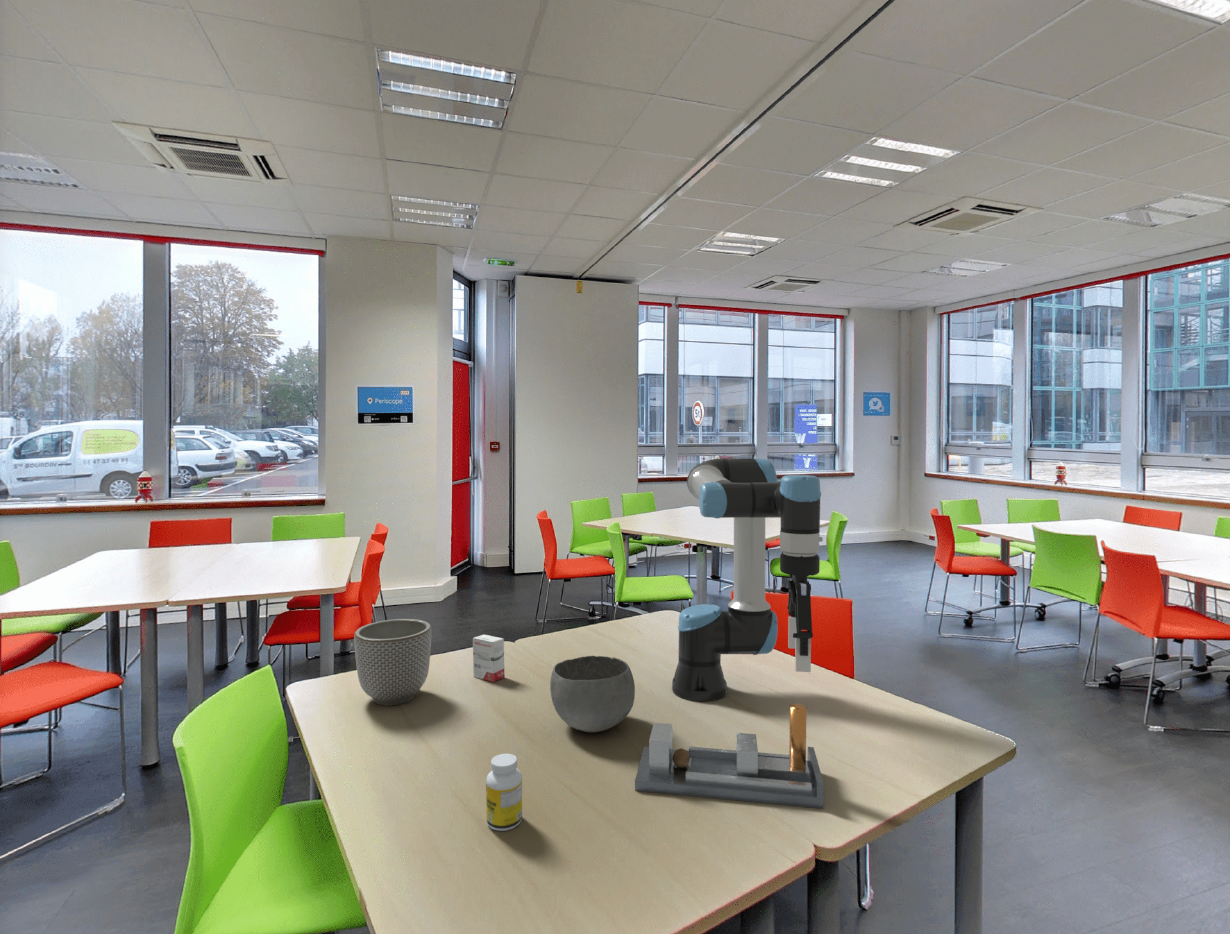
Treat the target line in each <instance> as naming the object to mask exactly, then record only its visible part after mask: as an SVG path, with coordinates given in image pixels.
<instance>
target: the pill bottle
mask: <svg viewBox="0 0 1230 934" xmlns="http://www.w3.org/2000/svg"><path fill="white" fill-rule="evenodd" d="M517 767H518V758H517V756H516V755H514V754H511V753H500V754H497V755H495V756H493V757H492V758H491V761H490V769H491V771H489V772H488V774H487V776H486V778H485V779H486V782H485V783H486V784H485V788H486V789H485V790H486V798H485V799H486V824H487V825H488V827H489V828H490V829H492V830H495V831H499V832H506V831H510V830H513V829H515V828H516V827H517V826H518V825H520V823H521V822H522V820H523V775H522V772H521V771H520V769H518V768H517Z"/></svg>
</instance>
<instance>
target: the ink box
mask: <svg viewBox="0 0 1230 934" xmlns="http://www.w3.org/2000/svg"><path fill="white" fill-rule="evenodd" d="M472 657H473V658H472V663H473V664H472V665H473V678H477V679H481V680H485V681H489V682H492V683H495V682H497V681H499V680H502V679H503V678H505V638H502V637H497V636H493V635H488V634H481V635H478V636H474V637H473V638H472Z"/></svg>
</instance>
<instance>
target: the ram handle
mask: <svg viewBox="0 0 1230 934" xmlns="http://www.w3.org/2000/svg"><path fill="white" fill-rule="evenodd" d="M757 740H758V739H757V734H755V733H744V732H736V744H735V745H736V747H735V748H736V749H735V750H736V764H737V776H741V777H752V778H763V779H774V780H785V781H796V782H807V783H809V769H808V765H807V706H806V705H804V704H801V703H791V704H790V705H789V740H788V741H789V742H788V743H789V746H788V747H789V748H788V749H789V750H788V751H789V754H788V755H789V759H785V758H773V757H761V756H758V752H759V751H758V742H757Z"/></svg>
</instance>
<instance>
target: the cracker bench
mask: <svg viewBox="0 0 1230 934" xmlns="http://www.w3.org/2000/svg"><path fill="white" fill-rule="evenodd" d="M648 743H649V744H648V746H643V749H642V753H641V757H640V760H639V764H638V768H637V772H636V775H635V779H634V791H637V792H649V793H659V794H667V795H679V796H689V797H699V798H707V799H709V798H710V799H719V800H720V799H721V800H729V801H738V802H739V801H740V802H750V803H761V804H769V805H779V806H780V805H781V806H790V807H791V806H792V807H793V806H794V807H802V808H812V809H821V810H823V809H824V797H825V796H824V790H825V786H824V785H825V783H824V780H823V777H822V776H823V775H822V773H821V772H822V771H821V769H820V766H819V762H818V758H817V754H816V751H815V747H813V746H807V757H806V761H807V765H808V769H809V783H807V782H796V781H785V780H774V779H763V778H752V777H741V776H737V764H736V749H735V750H734V749H722V748H712V747H711V748H710V747H701V746H700V747H699V746H698V747H697V746H689V747H688V750H687V749H685V750H686V751H687V752H688V753H689V755H690V762H689V764H688V765H687V766H686V767H684V768H680V767H677V766H676V765H675V764H674V762H673V754H674V752H675V751H676V750H677V749H676V748H675V749H674V748H673V724H672V723H665V722H663V723H662V722H661V723H660V722H653V724H652V729H651V732H650V735H649V740H648ZM758 756H761V757H773V758H785V759H789V754H783V753H782V754H781V753H772V752H759V751H758Z"/></svg>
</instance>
